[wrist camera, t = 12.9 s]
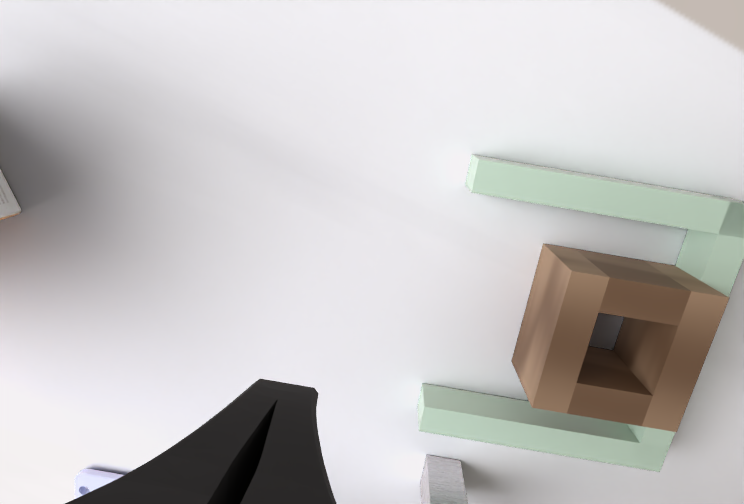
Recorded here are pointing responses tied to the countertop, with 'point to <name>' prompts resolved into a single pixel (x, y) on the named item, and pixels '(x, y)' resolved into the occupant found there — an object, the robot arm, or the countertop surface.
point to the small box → (7, 200)
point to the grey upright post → (442, 481)
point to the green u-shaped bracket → (612, 198)
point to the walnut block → (634, 343)
